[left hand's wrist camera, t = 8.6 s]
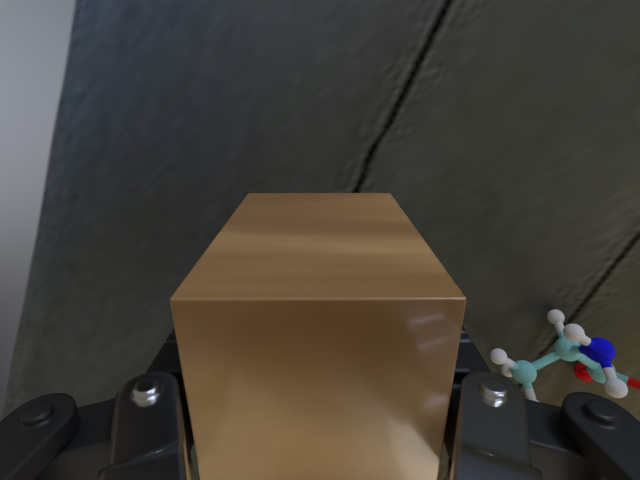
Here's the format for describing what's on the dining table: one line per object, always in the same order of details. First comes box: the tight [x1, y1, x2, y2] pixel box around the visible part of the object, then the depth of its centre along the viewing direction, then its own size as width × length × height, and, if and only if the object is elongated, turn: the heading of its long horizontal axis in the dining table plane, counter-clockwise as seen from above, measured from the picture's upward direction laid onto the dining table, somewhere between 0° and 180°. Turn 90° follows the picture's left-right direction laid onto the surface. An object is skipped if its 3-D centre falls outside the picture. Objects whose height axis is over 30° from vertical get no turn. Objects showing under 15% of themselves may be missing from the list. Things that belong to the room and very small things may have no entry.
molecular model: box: [490, 309, 640, 402], centre depth 29 cm, size 12×10×10 cm
